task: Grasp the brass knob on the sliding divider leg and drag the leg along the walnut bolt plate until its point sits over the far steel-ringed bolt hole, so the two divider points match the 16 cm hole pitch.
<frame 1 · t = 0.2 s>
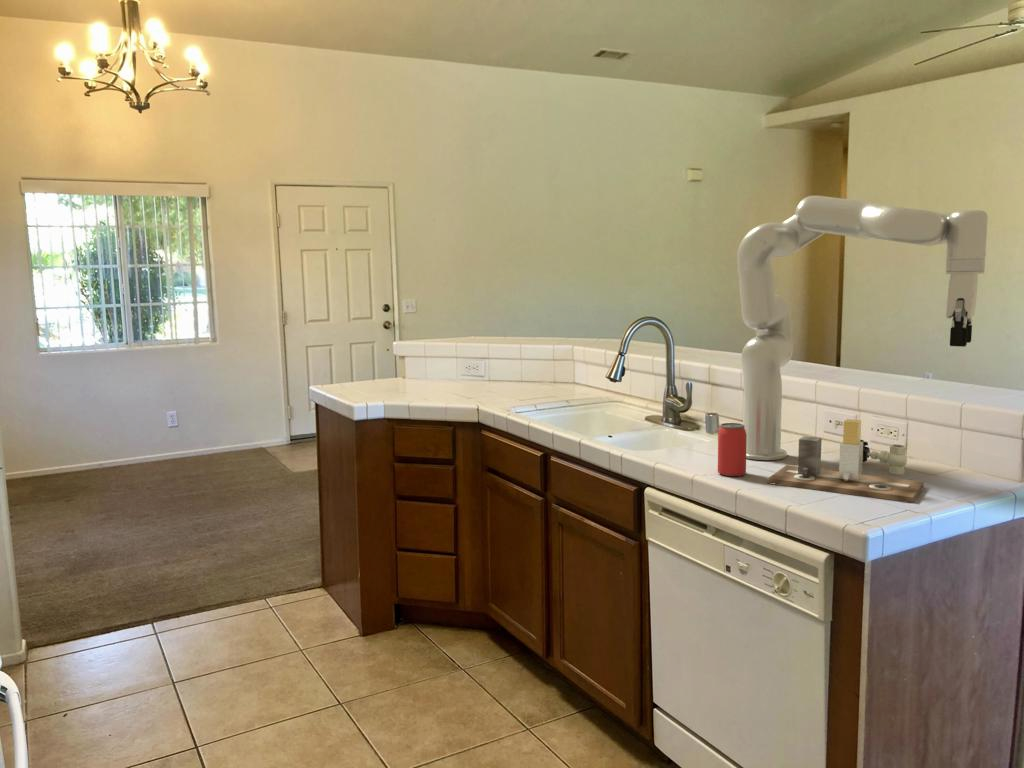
hand: (960, 344, 178), 31 cm above the worktop, fingers open, 9 cm apart
valve: (880, 470, 191), on the worktop
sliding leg: (850, 450, 177), point 8 cm above the worktop, slide at 7.0 cm
bolt plate: (844, 485, 178), on the worktop
beer can: (731, 474, 190), on the worktop
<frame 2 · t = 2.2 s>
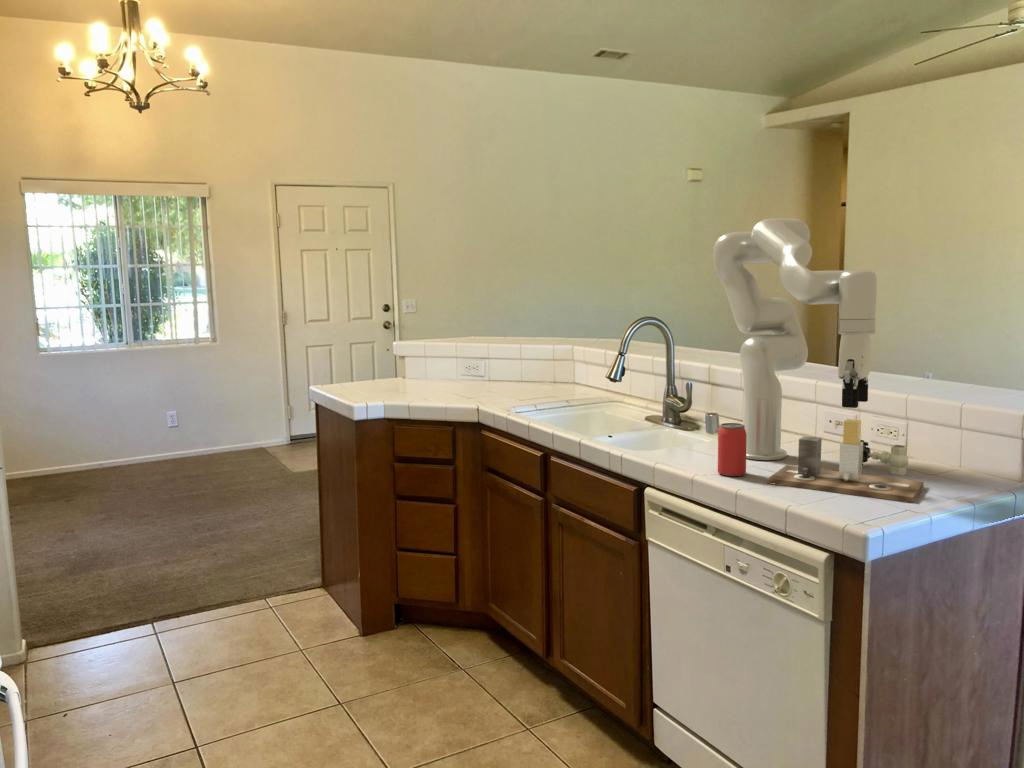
hand: (855, 404, 176), 19 cm above the worktop, fingers open, 9 cm apart
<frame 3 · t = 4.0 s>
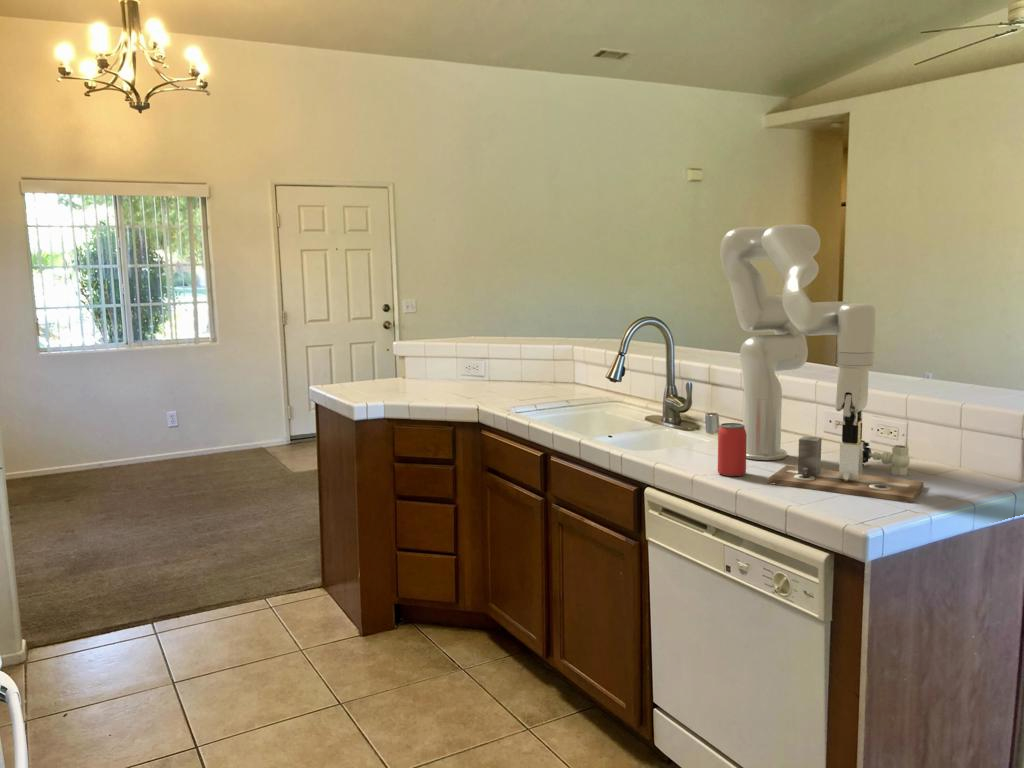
hand: (851, 440, 177), 10 cm above the worktop, fingers closed on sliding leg, 3 cm apart
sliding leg: (850, 450, 177), point 8 cm above the worktop, slide at 7.0 cm, touching gripper
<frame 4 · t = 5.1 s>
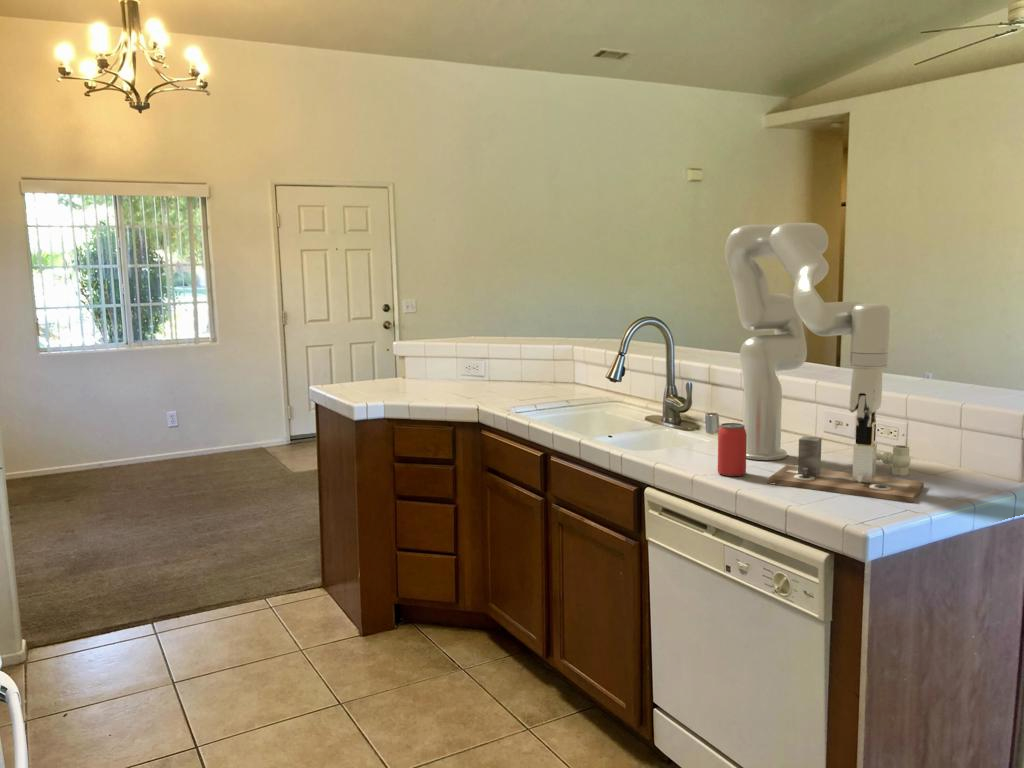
hand: (865, 441, 176), 10 cm above the worktop, fingers closed on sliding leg, 3 cm apart
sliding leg: (863, 451, 175), point 8 cm above the worktop, slide at 4.1 cm, touching gripper
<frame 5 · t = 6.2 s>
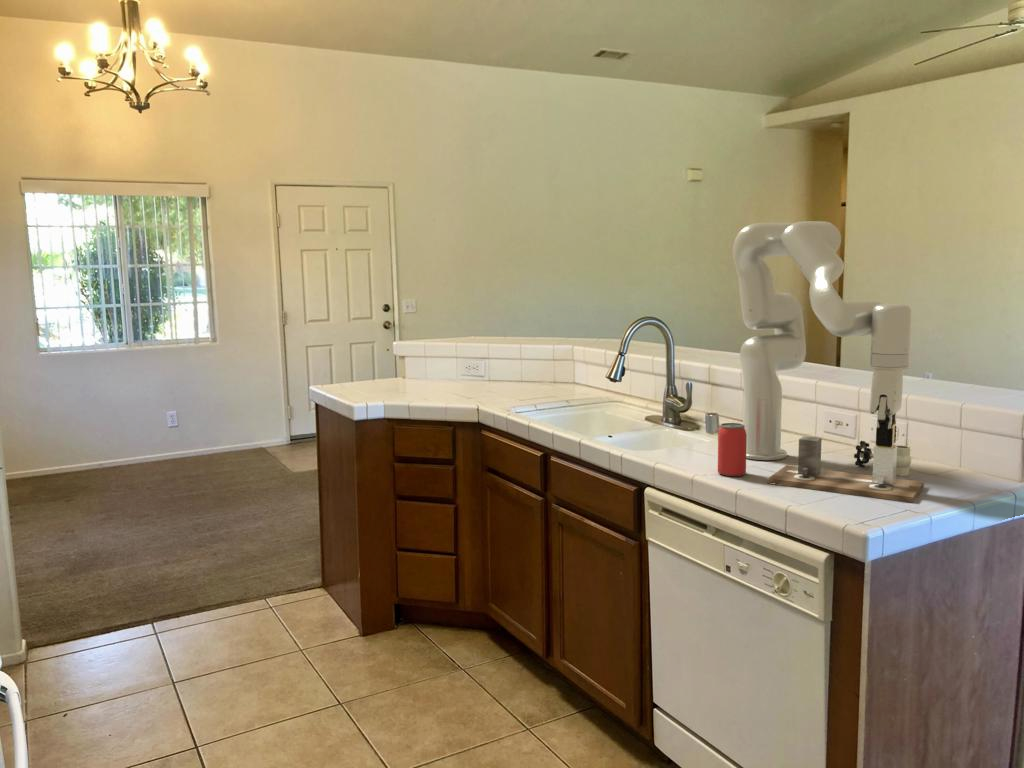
hand: (885, 443, 173), 10 cm above the worktop, fingers closed on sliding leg, 3 cm apart
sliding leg: (884, 453, 173), point 8 cm above the worktop, slide at 0.0 cm, touching gripper
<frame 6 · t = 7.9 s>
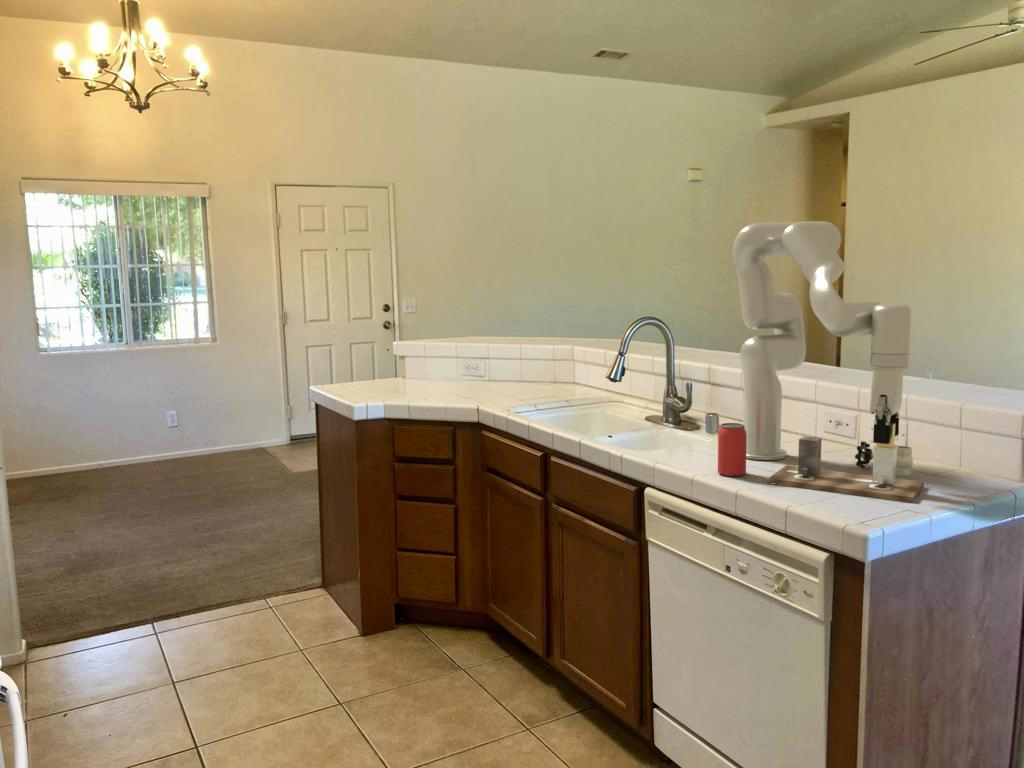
hand: (885, 438, 173), 11 cm above the worktop, fingers open, 9 cm apart
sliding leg: (884, 453, 173), point 8 cm above the worktop, slide at 0.0 cm
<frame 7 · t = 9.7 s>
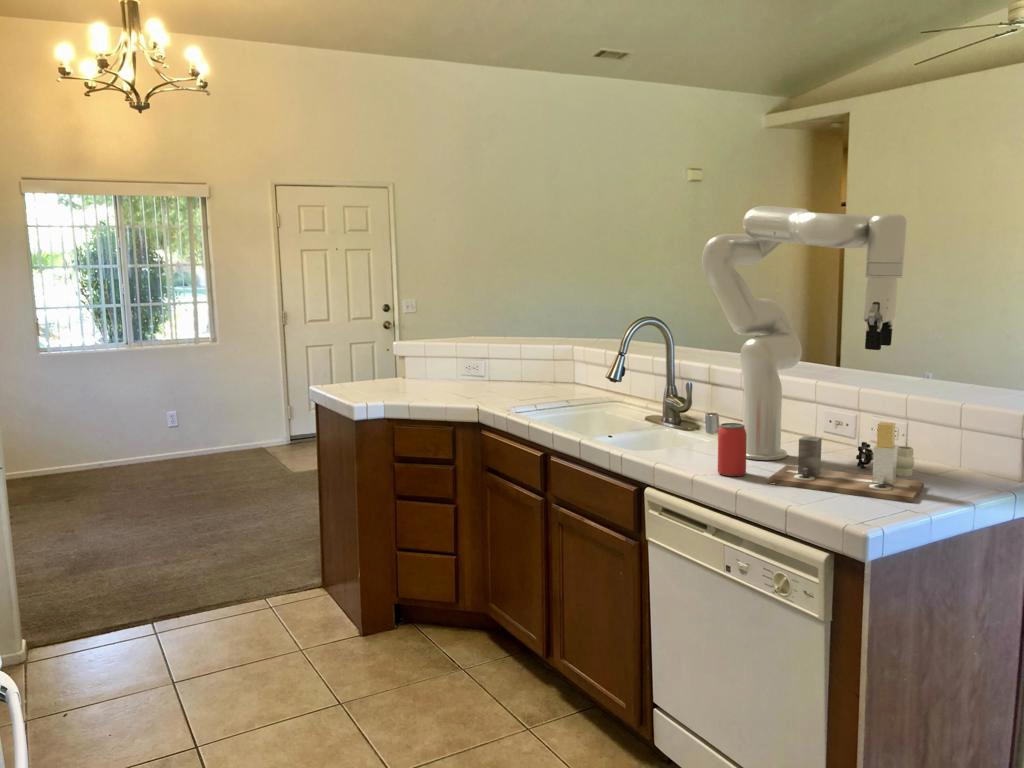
hand: (878, 347, 179), 31 cm above the worktop, fingers open, 9 cm apart
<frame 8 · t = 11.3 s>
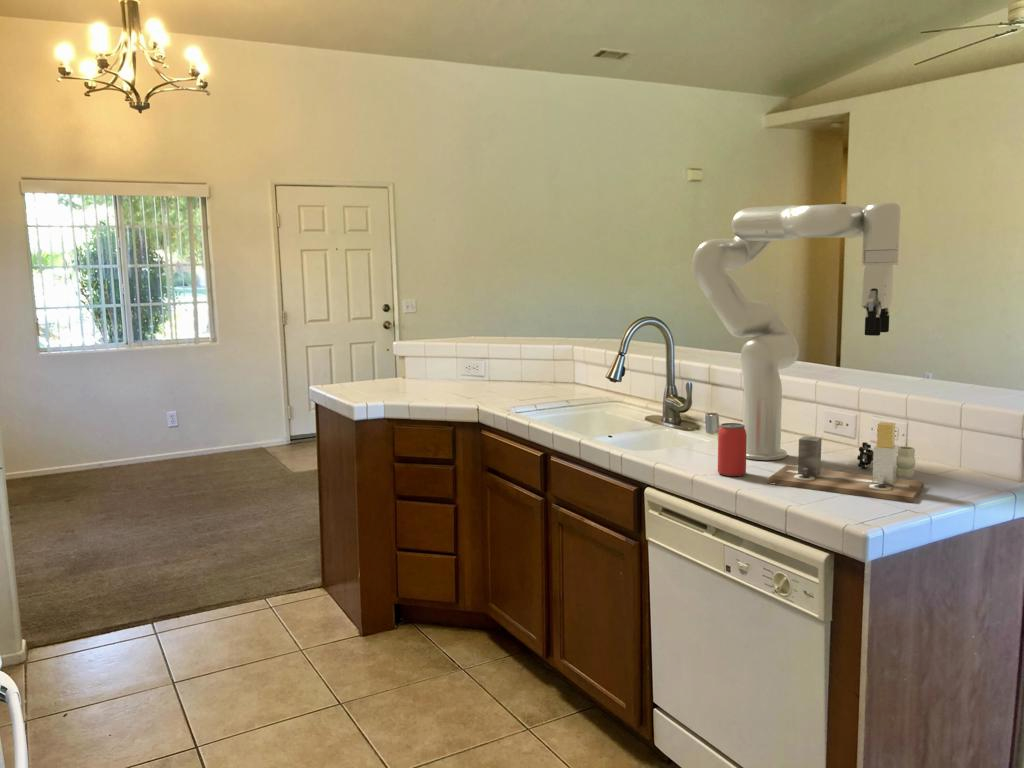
hand: (876, 333, 182), 33 cm above the worktop, fingers open, 9 cm apart
at the end: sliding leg slide at 0.0 cm; the gripper is holding nothing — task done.
